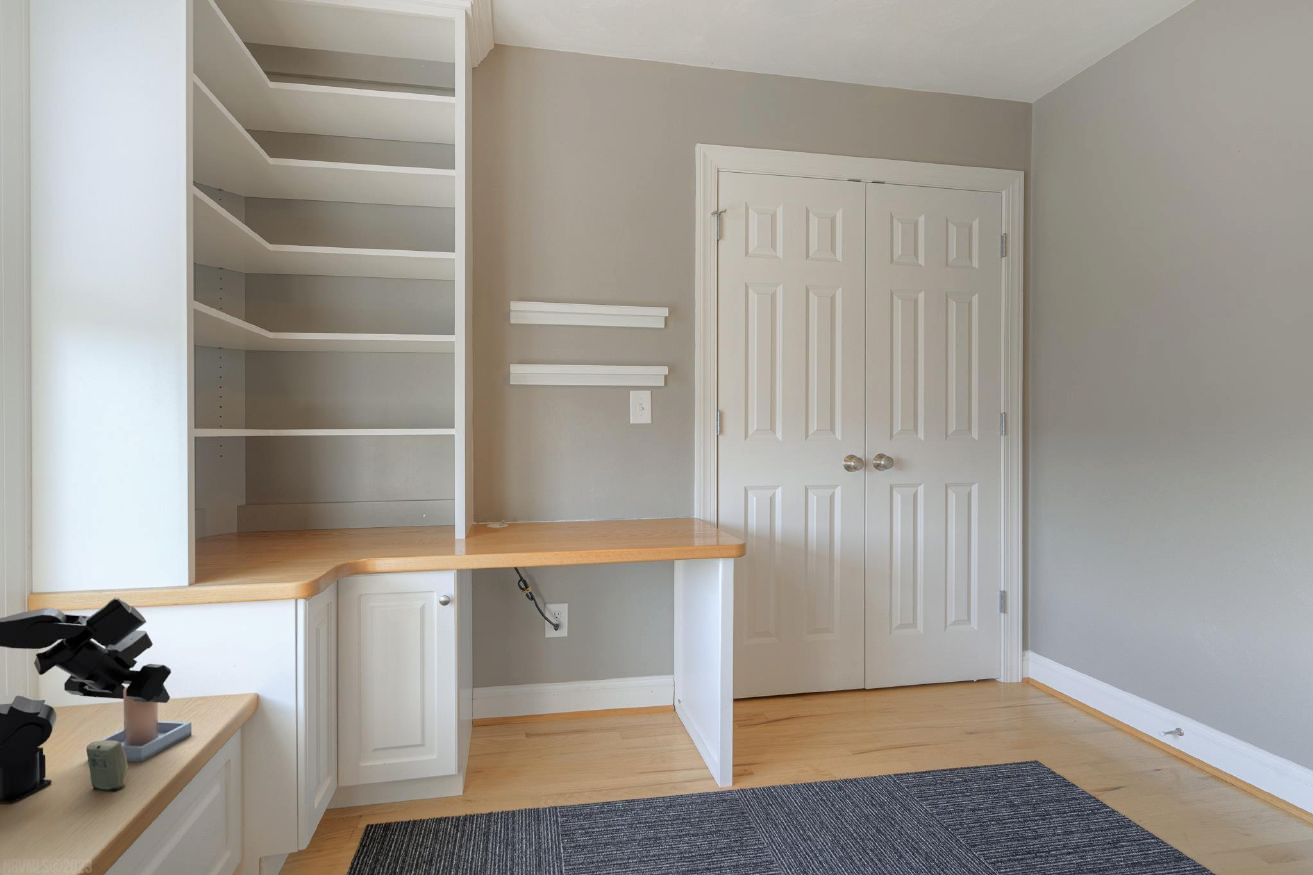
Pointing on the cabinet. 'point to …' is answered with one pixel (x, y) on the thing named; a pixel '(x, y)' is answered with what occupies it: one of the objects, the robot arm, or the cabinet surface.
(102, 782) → the power adapter
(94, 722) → the cabinet surface
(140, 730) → the peach rounded peg
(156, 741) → the tray
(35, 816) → the cabinet surface
